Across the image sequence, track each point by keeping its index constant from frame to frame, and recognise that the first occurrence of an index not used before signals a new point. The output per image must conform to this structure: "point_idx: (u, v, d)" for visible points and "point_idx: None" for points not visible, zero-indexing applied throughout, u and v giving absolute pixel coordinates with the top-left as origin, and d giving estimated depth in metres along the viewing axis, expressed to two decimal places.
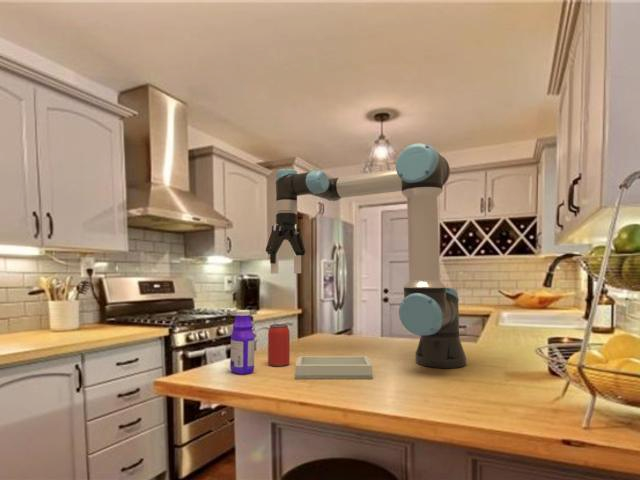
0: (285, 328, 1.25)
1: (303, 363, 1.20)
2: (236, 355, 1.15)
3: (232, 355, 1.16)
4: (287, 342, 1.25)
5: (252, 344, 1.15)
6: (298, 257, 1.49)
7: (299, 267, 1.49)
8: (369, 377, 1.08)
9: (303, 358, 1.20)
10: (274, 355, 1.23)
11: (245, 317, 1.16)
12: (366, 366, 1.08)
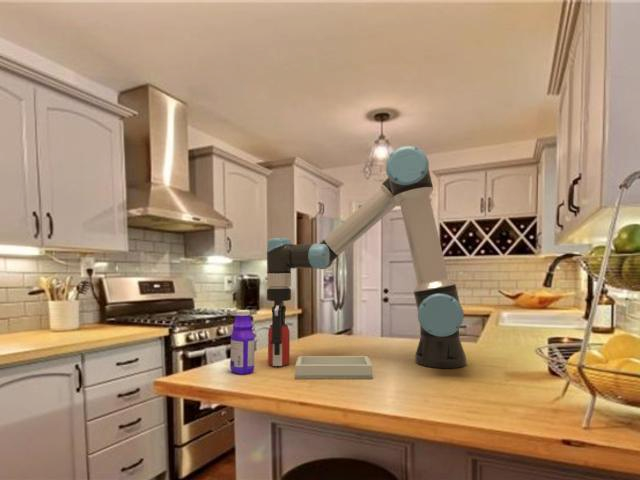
0: (285, 328, 1.25)
1: (303, 363, 1.20)
2: (236, 355, 1.15)
3: (232, 355, 1.16)
4: (287, 342, 1.25)
5: (252, 344, 1.15)
6: None
7: None
8: (369, 377, 1.08)
9: (303, 358, 1.20)
10: None
11: (245, 317, 1.16)
12: (366, 366, 1.08)
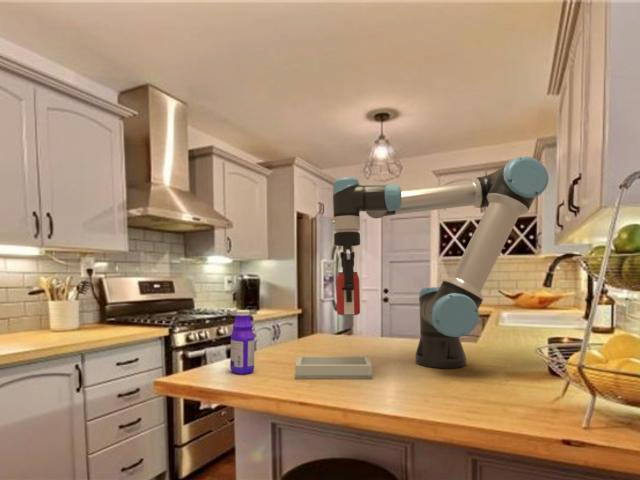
0: (355, 274, 1.15)
1: (303, 363, 1.20)
2: (236, 355, 1.15)
3: (232, 355, 1.16)
4: (358, 289, 1.15)
5: (252, 344, 1.15)
6: None
7: None
8: (369, 377, 1.08)
9: (303, 358, 1.20)
10: None
11: (245, 317, 1.16)
12: (366, 366, 1.08)
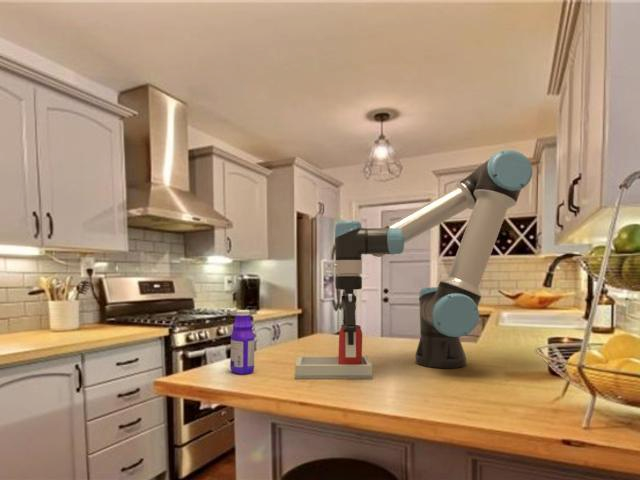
0: (359, 329, 1.14)
1: (303, 363, 1.20)
2: (236, 355, 1.15)
3: (232, 355, 1.16)
4: (360, 345, 1.14)
5: (252, 344, 1.15)
6: None
7: None
8: (369, 377, 1.08)
9: (303, 358, 1.20)
10: (347, 358, 1.12)
11: (245, 317, 1.16)
12: (366, 366, 1.08)
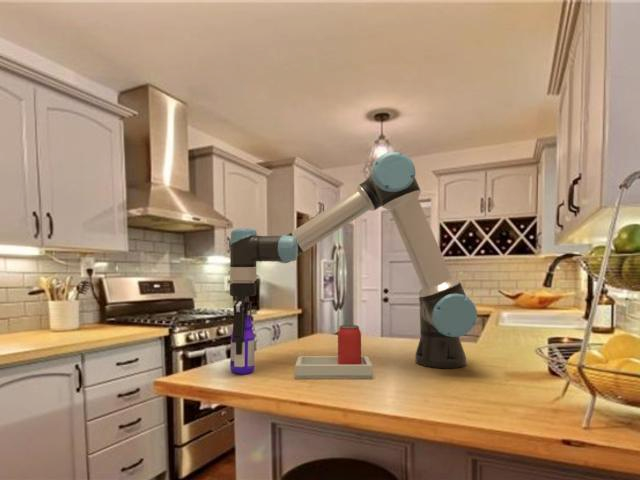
0: (357, 329, 1.14)
1: (303, 363, 1.20)
2: None
3: (232, 355, 1.16)
4: (359, 345, 1.13)
5: (252, 344, 1.15)
6: None
7: None
8: (369, 377, 1.08)
9: (303, 358, 1.20)
10: (346, 359, 1.12)
11: None
12: (366, 366, 1.08)
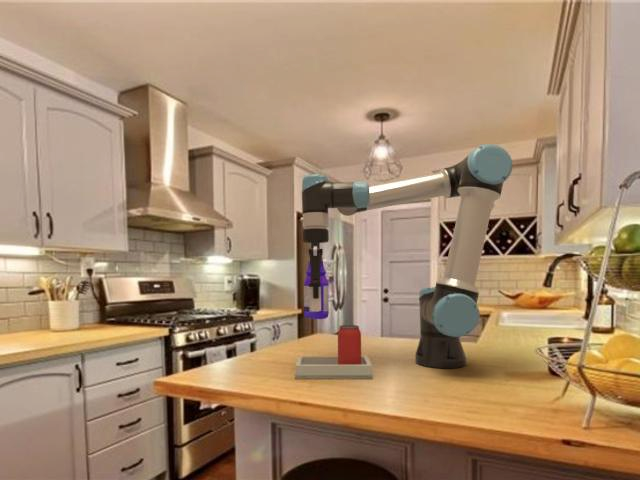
0: (357, 329, 1.14)
1: (303, 363, 1.20)
2: None
3: (307, 301, 1.15)
4: (359, 345, 1.13)
5: (327, 289, 1.15)
6: None
7: None
8: (369, 377, 1.08)
9: (303, 358, 1.20)
10: (346, 359, 1.12)
11: None
12: (366, 366, 1.08)
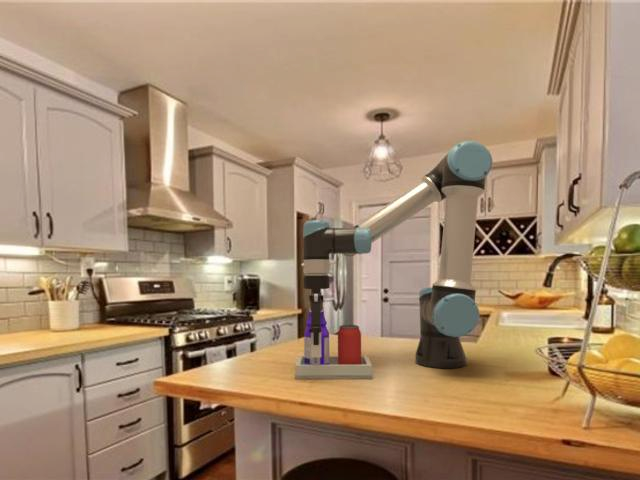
0: (357, 329, 1.14)
1: (303, 363, 1.20)
2: None
3: (307, 352, 1.14)
4: (359, 345, 1.13)
5: (328, 341, 1.13)
6: None
7: None
8: (369, 377, 1.08)
9: (303, 358, 1.20)
10: (346, 359, 1.12)
11: None
12: (366, 366, 1.08)
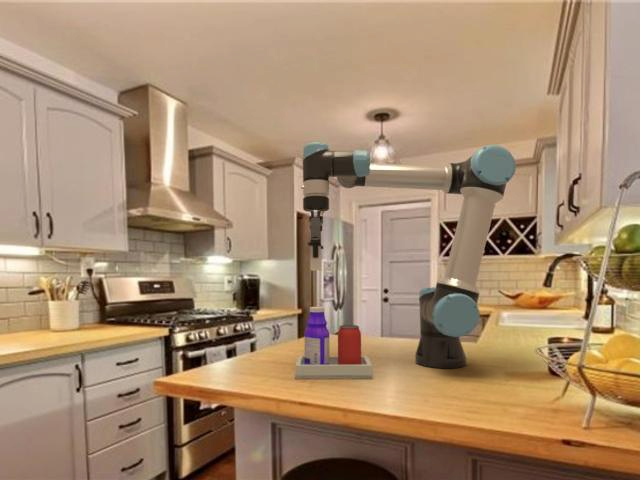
0: (357, 329, 1.14)
1: (303, 363, 1.20)
2: (312, 353, 1.12)
3: (307, 352, 1.14)
4: (359, 345, 1.13)
5: (328, 341, 1.13)
6: None
7: None
8: (369, 377, 1.08)
9: (303, 358, 1.20)
10: (346, 359, 1.12)
11: (321, 313, 1.14)
12: (366, 366, 1.08)
